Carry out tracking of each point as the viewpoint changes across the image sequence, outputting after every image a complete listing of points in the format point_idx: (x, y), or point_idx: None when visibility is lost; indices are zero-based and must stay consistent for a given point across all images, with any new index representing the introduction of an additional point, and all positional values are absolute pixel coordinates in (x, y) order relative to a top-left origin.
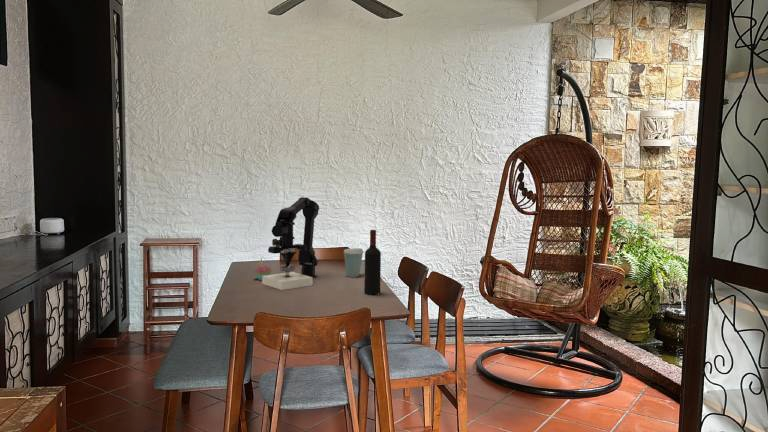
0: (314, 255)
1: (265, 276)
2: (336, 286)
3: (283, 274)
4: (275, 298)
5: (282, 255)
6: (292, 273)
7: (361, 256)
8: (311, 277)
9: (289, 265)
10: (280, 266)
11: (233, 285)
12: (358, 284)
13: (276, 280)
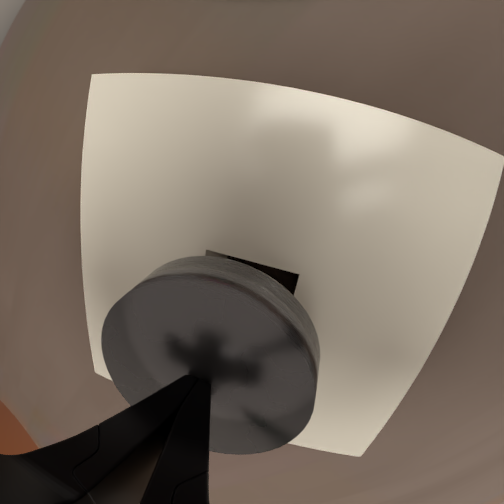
0: None
1: (94, 120)
2: (397, 481)
3: (308, 174)
4: (53, 391)
5: (25, 462)
6: (432, 221)
7: None
8: (352, 454)
9: (239, 399)
10: (103, 328)
11: (22, 30)
12: (469, 492)
13: (88, 320)
